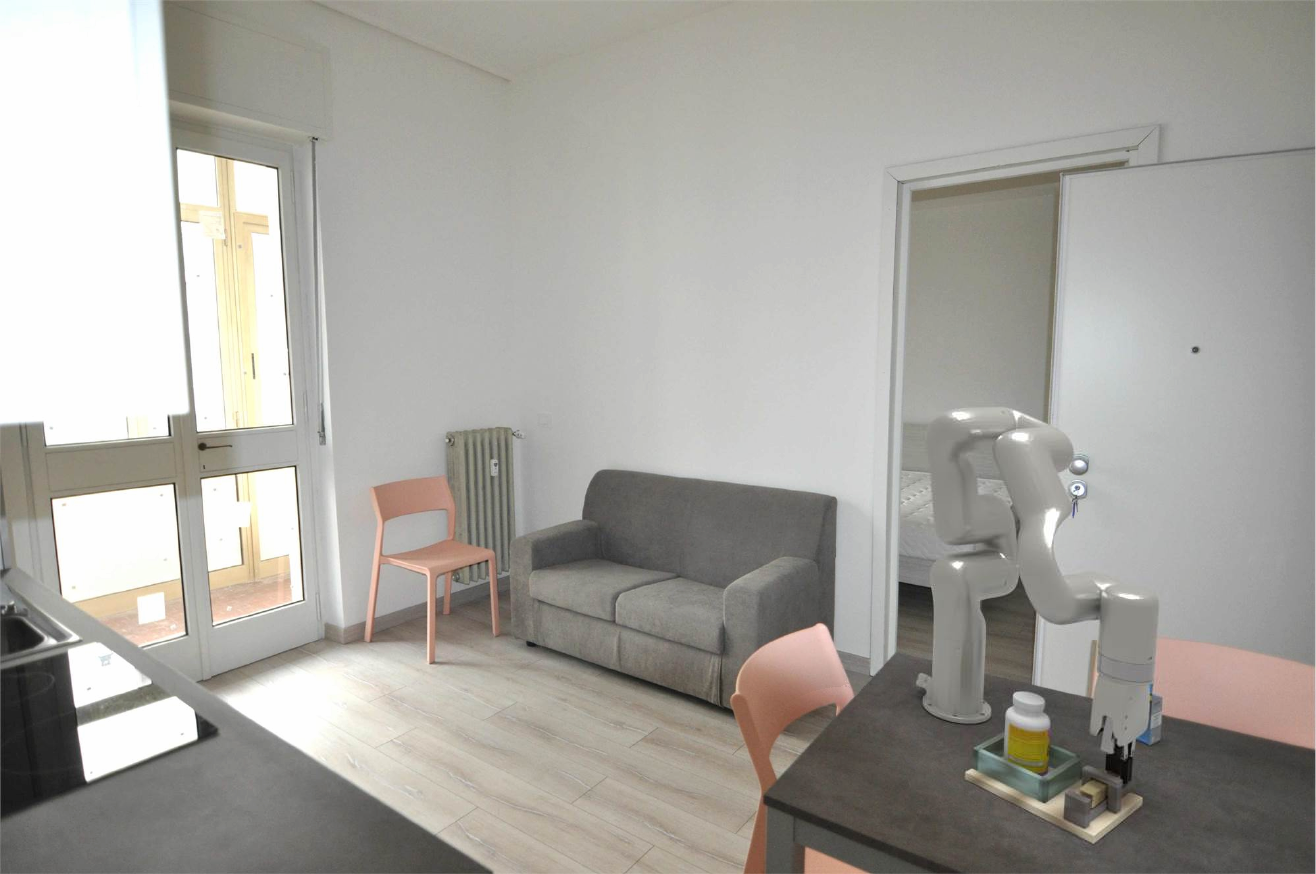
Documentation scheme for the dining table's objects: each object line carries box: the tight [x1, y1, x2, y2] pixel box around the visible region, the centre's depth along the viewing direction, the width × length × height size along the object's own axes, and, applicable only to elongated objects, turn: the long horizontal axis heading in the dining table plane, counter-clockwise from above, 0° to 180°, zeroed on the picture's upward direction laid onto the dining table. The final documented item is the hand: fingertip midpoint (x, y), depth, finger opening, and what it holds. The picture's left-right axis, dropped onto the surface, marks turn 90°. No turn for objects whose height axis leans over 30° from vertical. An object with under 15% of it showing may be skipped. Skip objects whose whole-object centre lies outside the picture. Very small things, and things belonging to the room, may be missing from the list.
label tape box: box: [1136, 682, 1163, 746], centre depth 134 cm, size 9×4×12 cm, turn 28°
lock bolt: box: [1078, 769, 1120, 808], centre depth 110 cm, size 2×9×2 cm, turn 125°
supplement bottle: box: [1003, 690, 1051, 777], centre depth 119 cm, size 7×7×13 cm
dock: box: [964, 730, 1144, 845], centre depth 116 cm, size 20×16×6 cm
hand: (1118, 778), depth 114 cm, fingers closed
